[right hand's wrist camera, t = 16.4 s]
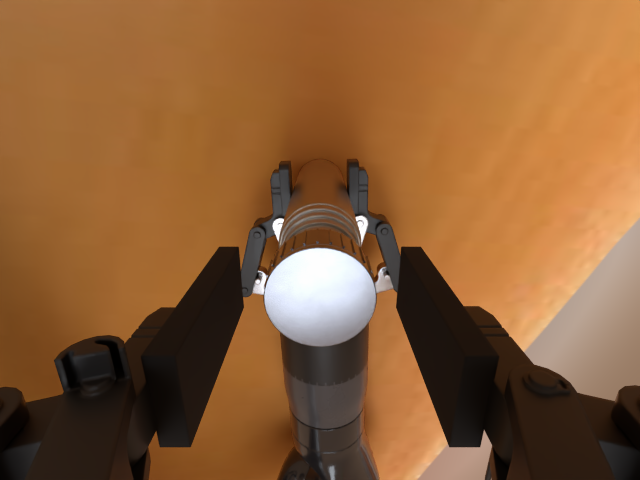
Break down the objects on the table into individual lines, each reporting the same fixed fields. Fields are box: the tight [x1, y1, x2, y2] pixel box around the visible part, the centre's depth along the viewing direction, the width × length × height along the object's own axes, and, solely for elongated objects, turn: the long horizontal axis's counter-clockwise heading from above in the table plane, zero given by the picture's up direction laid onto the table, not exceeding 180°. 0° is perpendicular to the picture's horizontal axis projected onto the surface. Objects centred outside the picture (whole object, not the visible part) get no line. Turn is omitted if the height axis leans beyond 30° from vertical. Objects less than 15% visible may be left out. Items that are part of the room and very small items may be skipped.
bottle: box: [279, 159, 362, 248], centre depth 23 cm, size 4×4×21 cm
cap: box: [264, 229, 377, 347], centre depth 14 cm, size 4×4×2 cm
